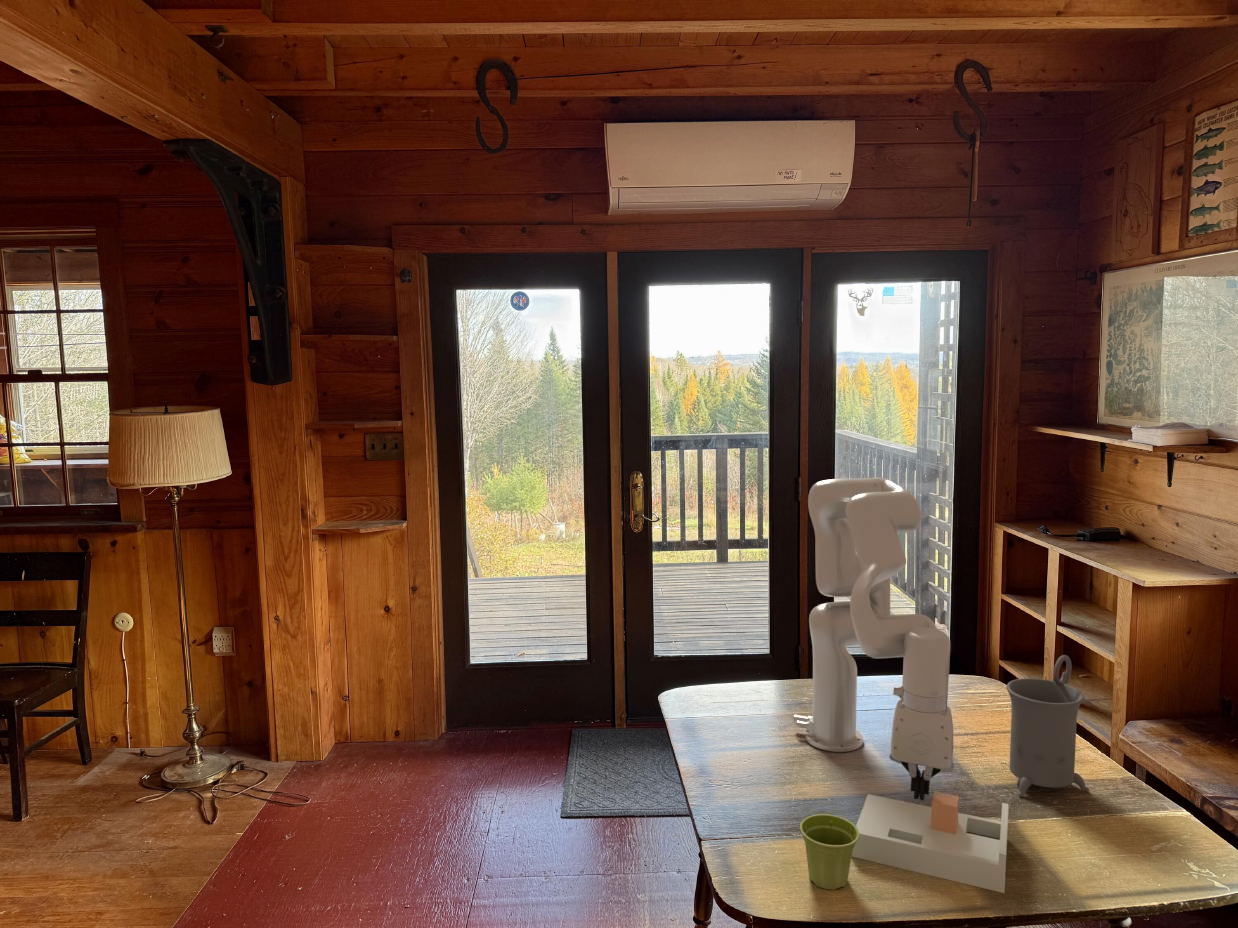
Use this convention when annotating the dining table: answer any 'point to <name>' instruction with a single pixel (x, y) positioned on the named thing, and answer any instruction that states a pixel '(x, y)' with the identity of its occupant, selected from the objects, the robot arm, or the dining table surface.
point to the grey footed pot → (1044, 730)
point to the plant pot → (829, 849)
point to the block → (944, 812)
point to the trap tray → (933, 843)
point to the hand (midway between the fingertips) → (919, 795)
